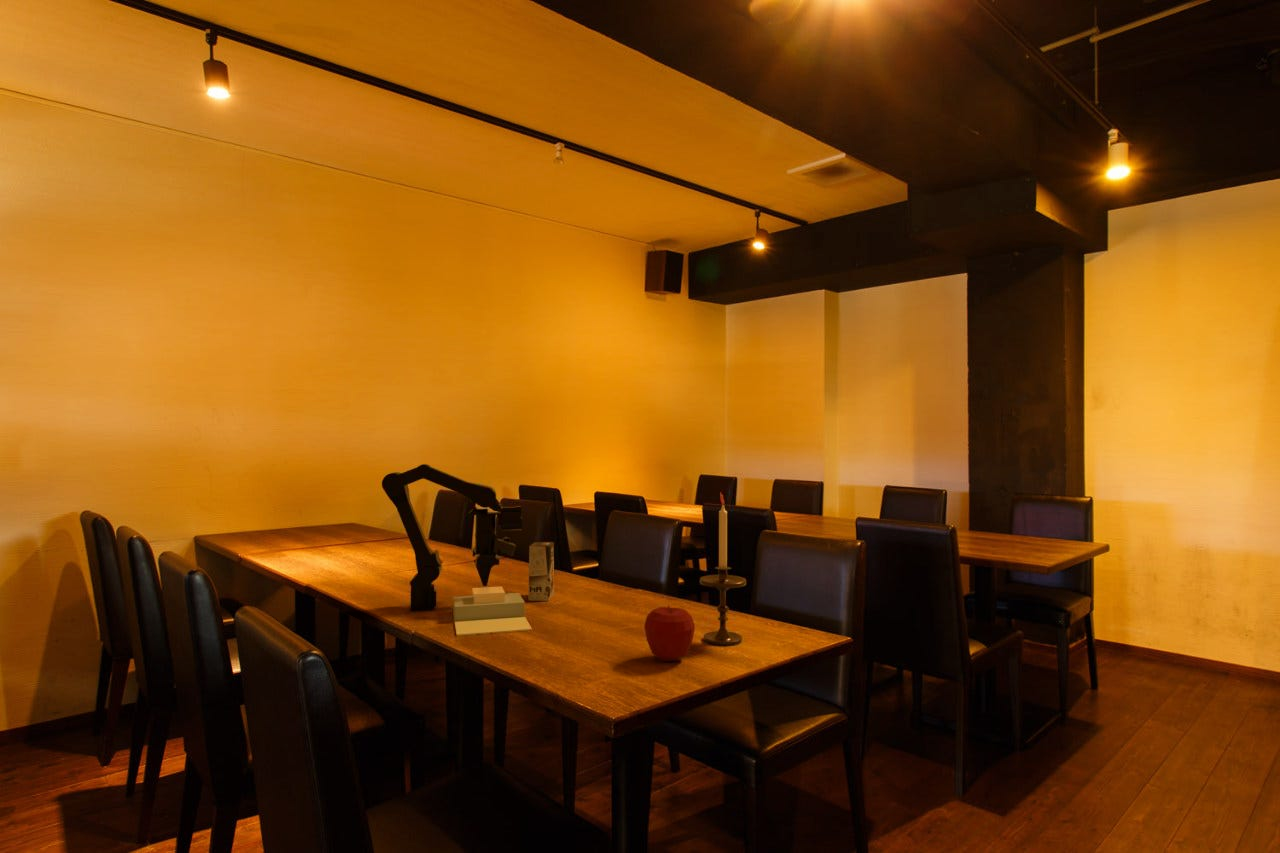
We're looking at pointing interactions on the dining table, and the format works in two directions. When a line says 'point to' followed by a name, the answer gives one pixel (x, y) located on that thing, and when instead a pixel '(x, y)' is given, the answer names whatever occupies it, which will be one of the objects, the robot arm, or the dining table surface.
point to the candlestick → (722, 587)
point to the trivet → (488, 595)
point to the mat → (492, 626)
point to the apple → (669, 632)
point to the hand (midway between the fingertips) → (484, 585)
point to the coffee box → (541, 571)
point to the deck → (488, 608)
